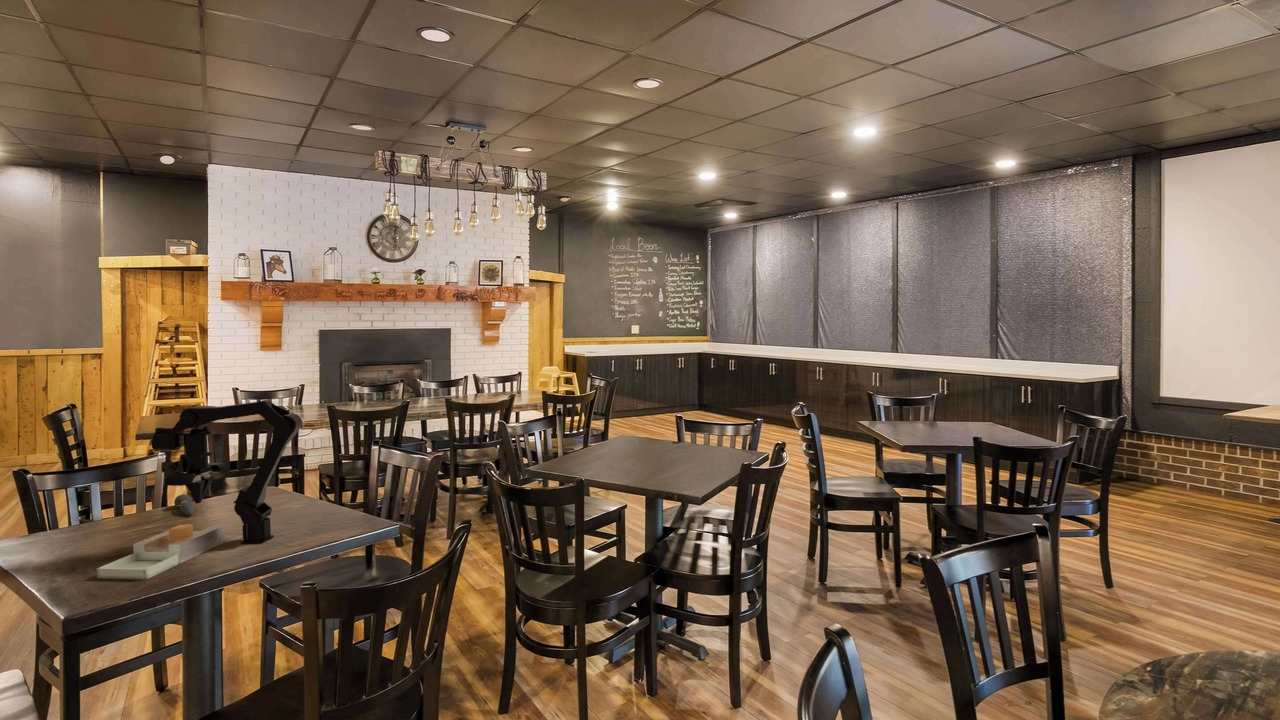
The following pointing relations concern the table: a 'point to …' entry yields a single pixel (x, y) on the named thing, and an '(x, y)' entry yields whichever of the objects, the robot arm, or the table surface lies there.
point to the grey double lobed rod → (184, 504)
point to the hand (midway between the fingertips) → (198, 503)
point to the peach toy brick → (180, 532)
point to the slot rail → (179, 545)
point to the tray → (135, 568)
